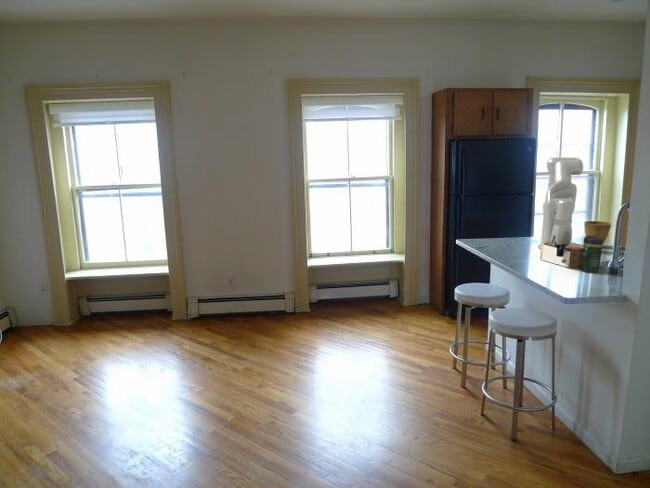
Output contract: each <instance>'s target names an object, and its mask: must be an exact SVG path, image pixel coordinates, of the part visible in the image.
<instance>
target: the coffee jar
mask: <svg viewBox="0 0 650 488" xmlns="http://www.w3.org/2000/svg"><path fill="white" fill-rule="evenodd" d="M582 243H583V244H582V245H583V253H582V260H581V266H580V268H579V269H581V270H582V271H583V272H585V273H587V272H588V273H591V274H594V273H595V274H596V273H599V272H600V267H601V260H602V258H601V256H602V250H603V246H604V244H603V240H602V239H600V238H598V237H596V236H586V235H585V237H584V238H583V242H582Z"/></svg>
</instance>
